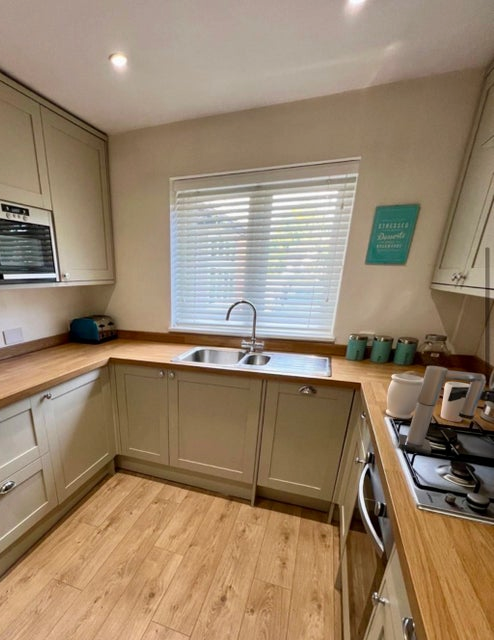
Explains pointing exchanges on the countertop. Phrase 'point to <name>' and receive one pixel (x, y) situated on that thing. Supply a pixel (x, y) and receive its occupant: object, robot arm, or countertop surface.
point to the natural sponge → (412, 373)
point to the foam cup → (452, 403)
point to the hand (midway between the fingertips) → (477, 404)
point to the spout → (438, 374)
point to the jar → (403, 395)
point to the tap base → (414, 447)
